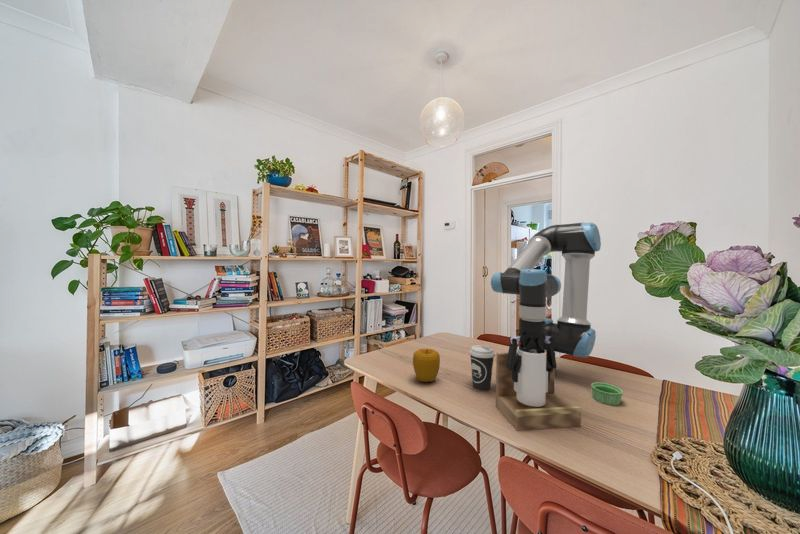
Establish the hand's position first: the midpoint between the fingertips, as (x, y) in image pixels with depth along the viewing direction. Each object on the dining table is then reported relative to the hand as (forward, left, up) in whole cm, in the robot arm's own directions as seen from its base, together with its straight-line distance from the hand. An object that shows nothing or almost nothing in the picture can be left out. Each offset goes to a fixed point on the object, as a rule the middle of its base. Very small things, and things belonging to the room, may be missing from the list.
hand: (530, 391), depth 89 cm
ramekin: (-33, -7, -8) cm, 35 cm away
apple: (+27, -29, -8) cm, 41 cm away
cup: (0, 0, -3) cm, 3 cm away
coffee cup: (+7, -21, -8) cm, 24 cm away
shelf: (-2, 0, -8) cm, 8 cm away
